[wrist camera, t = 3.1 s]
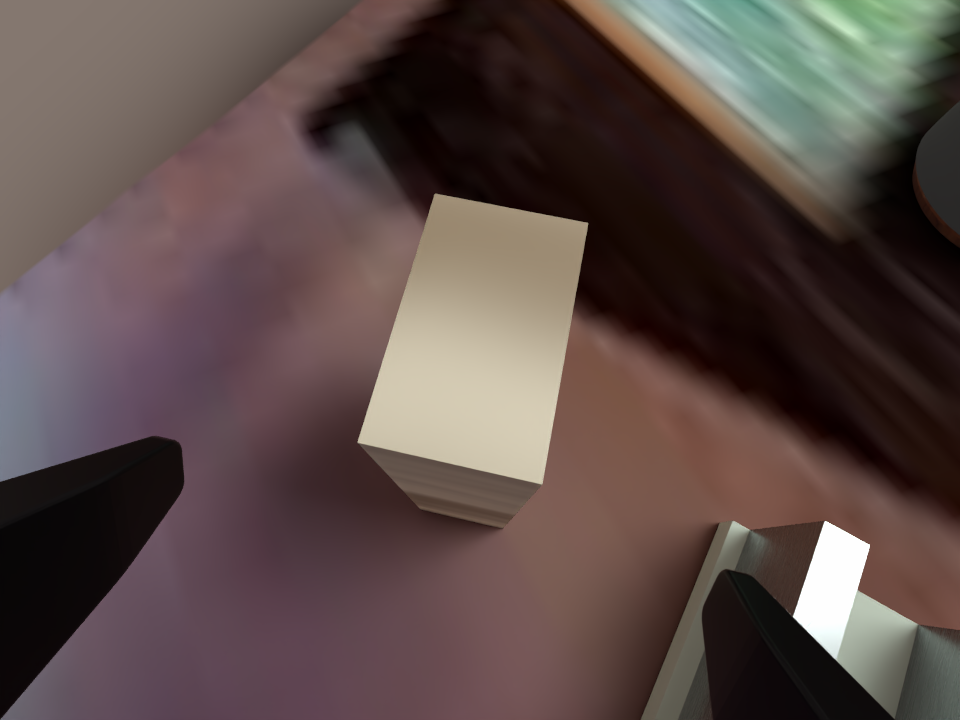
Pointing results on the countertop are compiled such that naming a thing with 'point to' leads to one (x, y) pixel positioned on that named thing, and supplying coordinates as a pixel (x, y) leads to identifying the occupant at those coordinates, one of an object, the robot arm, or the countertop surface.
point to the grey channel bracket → (816, 624)
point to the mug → (940, 175)
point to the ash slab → (476, 360)
